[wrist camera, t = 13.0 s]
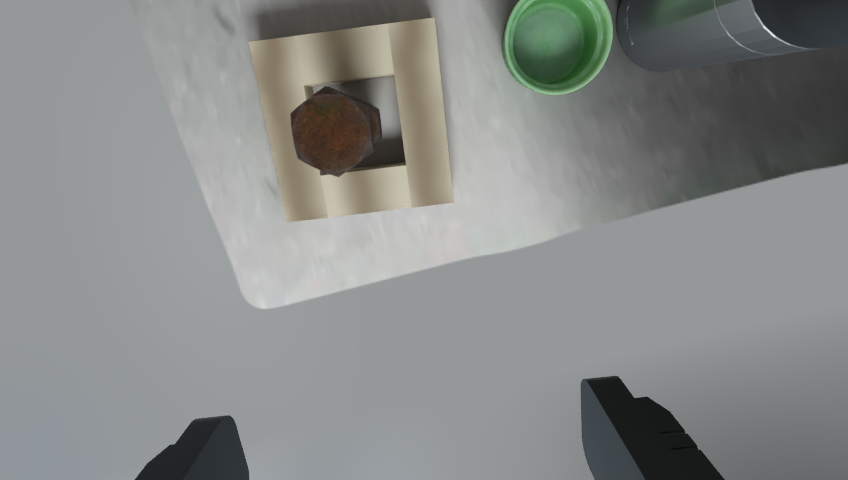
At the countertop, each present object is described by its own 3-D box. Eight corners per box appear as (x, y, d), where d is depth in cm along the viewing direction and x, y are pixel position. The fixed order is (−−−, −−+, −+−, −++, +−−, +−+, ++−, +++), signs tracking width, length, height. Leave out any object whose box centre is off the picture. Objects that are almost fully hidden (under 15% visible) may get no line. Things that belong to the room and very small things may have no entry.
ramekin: (610, 60, 42) (631, 56, 38) (525, 114, 43) (536, 116, 39) (566, -32, 40) (583, -48, 36) (478, 28, 41) (484, 20, 37)
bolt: (332, 94, 43) (284, 89, 28) (385, 90, 42) (364, 82, 28) (340, 156, 44) (299, 181, 30) (391, 152, 44) (375, 175, 30)
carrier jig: (433, 23, 41) (434, 17, 38) (451, 196, 45) (453, 202, 43) (260, 46, 41) (248, 42, 39) (295, 215, 46) (286, 222, 43)
